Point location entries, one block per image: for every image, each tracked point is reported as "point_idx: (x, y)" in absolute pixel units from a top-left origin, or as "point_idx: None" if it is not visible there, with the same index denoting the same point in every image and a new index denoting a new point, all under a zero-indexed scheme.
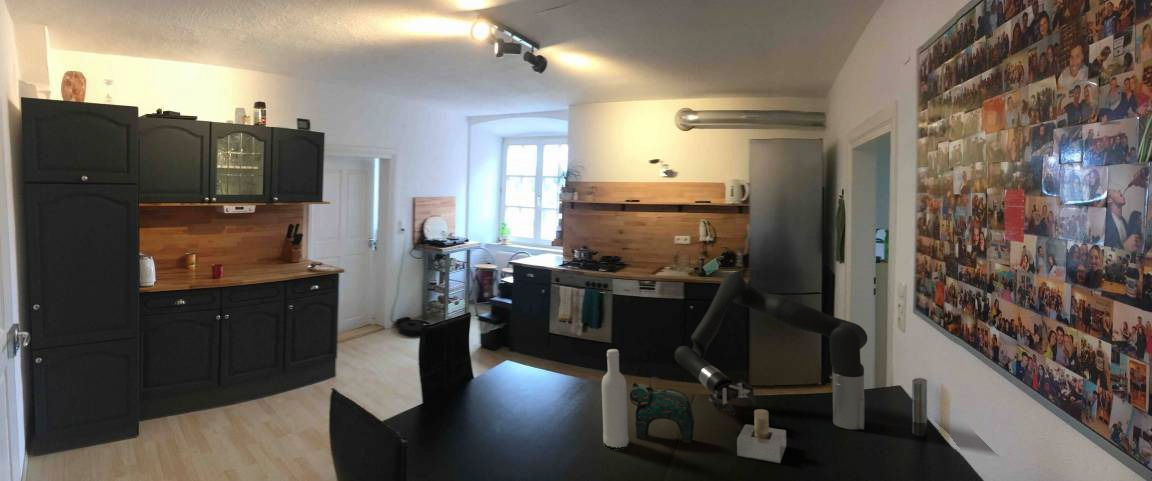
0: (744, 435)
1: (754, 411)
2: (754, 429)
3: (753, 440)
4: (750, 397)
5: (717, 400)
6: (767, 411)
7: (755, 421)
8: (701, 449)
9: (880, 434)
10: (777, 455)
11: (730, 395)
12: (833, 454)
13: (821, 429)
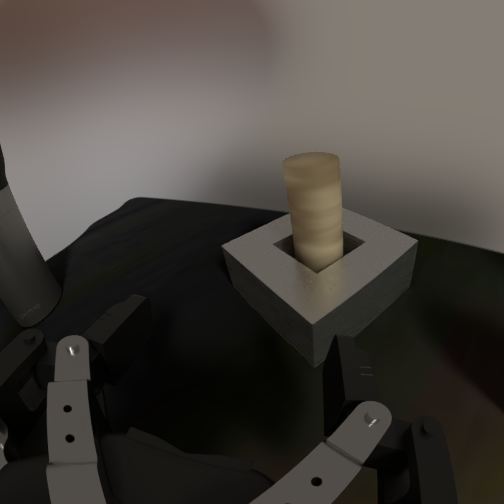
0: (381, 251)
1: (335, 162)
2: (313, 274)
3: (370, 225)
4: (124, 339)
5: (423, 470)
6: (286, 159)
7: (341, 194)
8: (499, 342)
9: (65, 265)
10: None
11: (230, 460)
12: (190, 239)
13: (78, 315)
